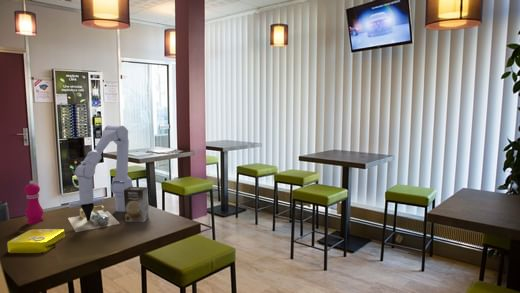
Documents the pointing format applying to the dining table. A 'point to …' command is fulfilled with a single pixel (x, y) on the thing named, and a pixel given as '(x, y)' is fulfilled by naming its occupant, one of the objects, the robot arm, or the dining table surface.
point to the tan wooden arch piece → (95, 209)
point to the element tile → (35, 241)
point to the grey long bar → (103, 218)
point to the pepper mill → (33, 204)
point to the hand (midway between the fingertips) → (88, 220)
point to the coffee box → (136, 204)
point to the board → (89, 223)
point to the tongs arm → (94, 218)
